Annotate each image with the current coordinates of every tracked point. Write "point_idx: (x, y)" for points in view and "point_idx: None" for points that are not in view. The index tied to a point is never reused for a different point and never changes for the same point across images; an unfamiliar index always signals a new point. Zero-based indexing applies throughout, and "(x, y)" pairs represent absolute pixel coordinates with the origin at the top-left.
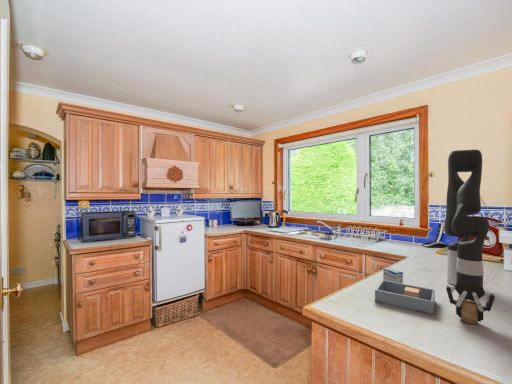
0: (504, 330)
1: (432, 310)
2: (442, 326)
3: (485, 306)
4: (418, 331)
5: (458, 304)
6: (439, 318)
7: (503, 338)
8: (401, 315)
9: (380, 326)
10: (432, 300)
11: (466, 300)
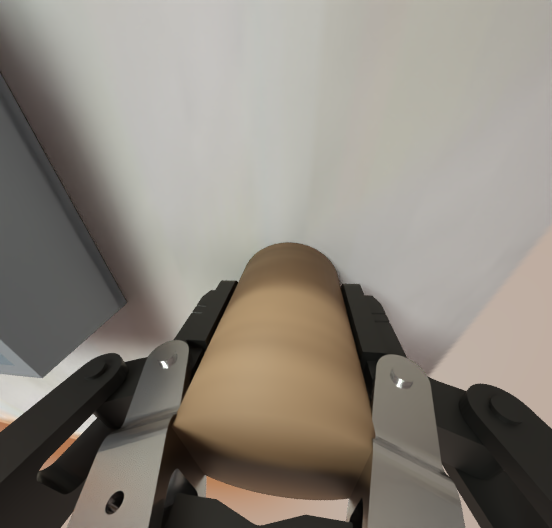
0: (476, 295)
1: (101, 321)
2: None
3: (465, 452)
4: None
5: None
6: (163, 321)
7: None
8: (66, 361)
9: None
10: (13, 356)
11: (235, 453)
